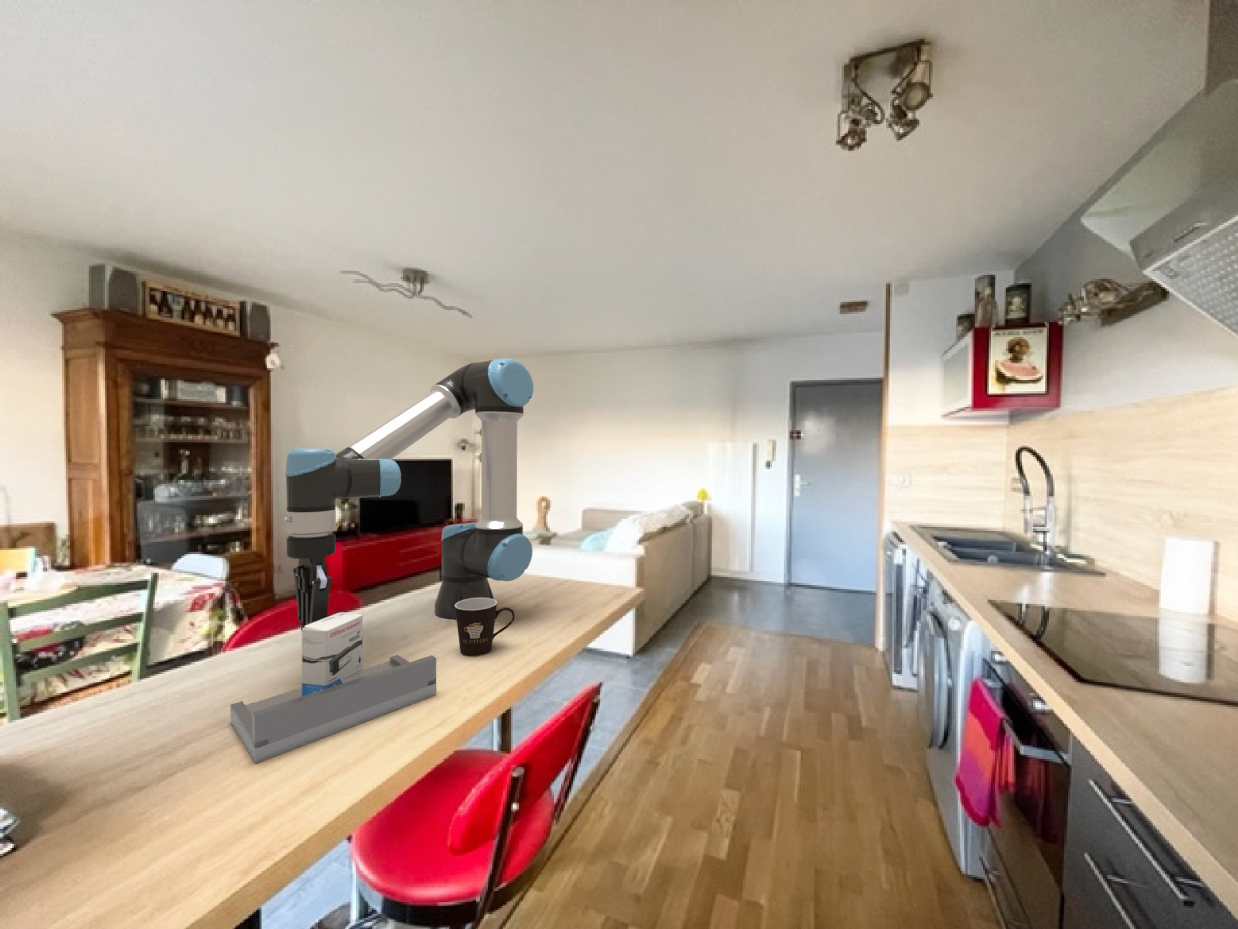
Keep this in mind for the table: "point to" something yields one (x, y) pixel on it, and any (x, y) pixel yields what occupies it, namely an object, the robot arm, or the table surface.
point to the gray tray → (331, 707)
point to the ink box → (331, 652)
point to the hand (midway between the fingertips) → (312, 662)
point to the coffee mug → (477, 625)
